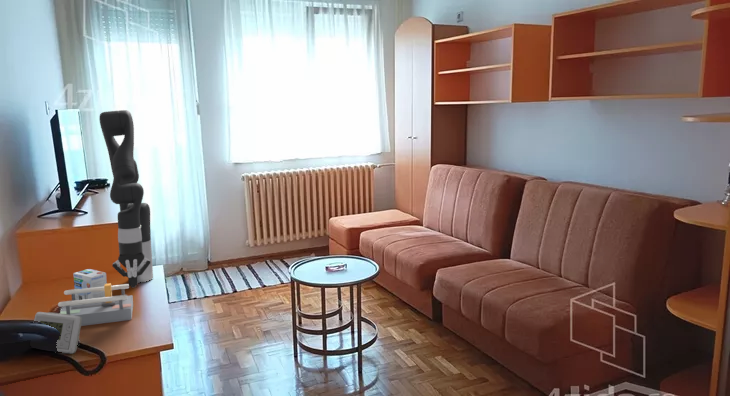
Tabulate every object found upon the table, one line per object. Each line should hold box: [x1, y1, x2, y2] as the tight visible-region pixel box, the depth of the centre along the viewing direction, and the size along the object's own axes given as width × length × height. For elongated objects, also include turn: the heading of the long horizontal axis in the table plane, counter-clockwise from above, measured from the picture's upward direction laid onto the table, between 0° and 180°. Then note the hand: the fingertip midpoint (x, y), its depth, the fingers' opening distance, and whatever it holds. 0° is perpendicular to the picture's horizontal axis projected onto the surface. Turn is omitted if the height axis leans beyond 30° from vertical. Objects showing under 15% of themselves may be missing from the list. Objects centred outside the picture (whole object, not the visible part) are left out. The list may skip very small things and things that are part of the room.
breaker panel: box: [57, 283, 134, 327], centre depth 181 cm, size 14×22×9 cm, turn 111°
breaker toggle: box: [102, 282, 116, 306], centre depth 182 cm, size 4×4×7 cm
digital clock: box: [33, 311, 82, 355], centre depth 157 cm, size 16×9×11 cm, turn 66°
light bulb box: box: [72, 268, 108, 300], centre depth 197 cm, size 11×7×11 cm, turn 62°
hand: (133, 286), depth 185 cm, fingers closed
